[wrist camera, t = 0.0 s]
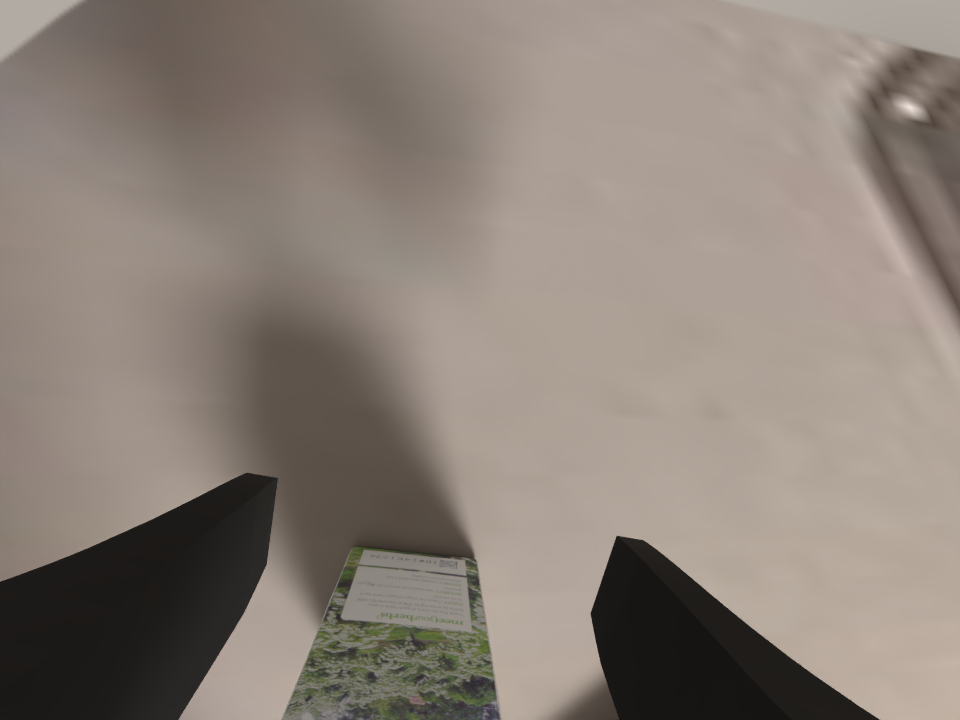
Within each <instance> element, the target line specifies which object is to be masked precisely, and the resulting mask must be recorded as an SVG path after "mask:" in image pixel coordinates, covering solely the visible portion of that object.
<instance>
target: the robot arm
mask: <svg viewBox="0 0 960 720" xmlns="http://www.w3.org/2000/svg"><path fill="white" fill-rule="evenodd" d="M277 480H278V478H274V477H268V476H262V475H257V474H251V473H245V474H243V475H241V476H238V477H236V478H234V479H232V480H230V481H228V482H226V483H224V484H222V485H220V486H218V487H216V488H214V489H212V490H210V491H208V492H207V493H205V494H203V495H201V496H199V497H197V498H195V499H193V500H191V501H189V502H187V503H185V504H183V505H181V506H179V507H177V508H175V509H173V510H171V511H169V512H167V513H164V514H162V515H160V516H158V517H156V518H154V519H152V520H150V521H148V522H146V523H143V524H141V525H139V526H137V527H134V528H132V529H130V530H128V531H126V532H123V533H121V534H119V535H117V536H114V537H112V538H110V539H108V540H106V541H103V542H101V543H99V544H97V545H94V546H92V547H90V548H88V549H85V550H83V551H80V552H78V553H75V554H73V555H71V556H68V557H65V558H63V559H60V560H58V561H55V562H53V563H50V564H48V565H45V566H42V567H40V568H37V569H34V570H31V571H29V572H26V573H23V574H21V575H18V576H15V577H13V578H10V579H7V580H4V581H2V582H0V720H178V719H179V718H180V716H181V714H182V713H183V711H184V710H185V708H186V706H187V705H188V703H189V701H190V700H191V698H192V697H193V695H194V693H195V692H196V690H197V689H198V687H199V685H200V684H201V682H202V680H203V679H204V677H205V676H206V674H207V672H208V671H209V669H210V668H211V666H212V664H213V663H214V661H215V660H216V658H217V656H218V655H219V653H220V651H221V650H222V648H223V646H224V645H225V643H226V642H227V640H228V638H229V637H230V635H231V633H232V632H233V630H234V629H235V627H236V625H237V624H238V622H239V620H240V619H241V617H242V615H243V614H244V612H245V609H246V607H247V605H248V603H249V601H250V599H251V597H252V595H253V593H254V591H255V589H256V586H257V584H258V582H259V580H260V578H261V575H262V573H263V571H264V569H265V567H266V565H267V557H268V549H269V542H270V534H271V526H272V519H273V511H274V503H275V495H276V488H277ZM591 618H592V623H593V628H594V634H595V639H596V644H597V648H598V653H599V657H600V662H601V665H602V669H603V672H604V675H605V678H606V681H607V684H608V687H609V690H610V693H611V696H612V699H613V702H614V705H615V708H616V711H617V714H618V717H619V720H879V719H878V718H876V717H875V716H873V715H872V714H870V713H869V712H867V711H865V710H864V709H862V708H861V707H859V706H858V705H856V704H855V703H854V702H852V701H851V700H849V699H848V698H846V697H845V696H843V695H842V694H841V693H839V692H838V691H836V690H835V689H833V688H832V687H830V686H829V685H827V684H826V683H825V682H823V681H822V680H820V679H819V678H817V677H816V676H814V675H813V674H812V673H810V672H809V671H808V670H806V669H805V668H803V667H802V666H801V665H799V664H798V663H797V662H795V661H794V660H792V659H791V658H790V657H788V656H787V655H786V654H785V653H783V652H782V651H781V650H779V649H778V648H777V647H776V646H774V645H773V644H772V643H770V642H769V641H768V640H766V639H765V638H764V637H763V636H761V635H760V634H759V633H757V632H756V631H755V630H754V629H752V628H751V627H750V626H749V625H747V624H746V623H745V622H744V621H742V620H741V619H740V618H739V617H737V616H736V615H735V614H734V613H733V612H731V611H730V610H729V609H728V608H726V607H725V606H724V605H723V604H722V603H720V602H719V601H718V600H717V599H716V598H714V597H713V596H712V595H711V594H710V593H708V592H707V591H706V590H705V589H704V588H702V587H701V586H700V585H699V584H698V583H697V582H695V581H694V580H693V579H692V578H691V577H689V576H688V575H687V574H686V573H685V572H683V571H682V570H681V569H680V568H679V567H677V566H676V565H675V564H674V563H673V562H671V561H670V560H669V559H668V558H666V557H665V556H664V555H663V554H661V553H660V552H659V551H658V550H656V549H655V548H654V547H652V546H651V545H649V544H648V543H647V542H645V541H644V540H638V539H633V538H627V537H621V536H617V537H616V540H615V543H614V546H613V549H612V552H611V555H610V558H609V560H608V563H607V566H606V569H605V572H604V575H603V578H602V581H601V584H600V587H599V590H598V593H597V596H596V599H595V602H594V605H593V608H592V611H591Z"/></svg>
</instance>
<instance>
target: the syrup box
mask: <svg viewBox="0 0 960 720" xmlns="http://www.w3.org/2000/svg"><path fill="white" fill-rule="evenodd" d="M281 720H502V719H501V712H500V705H499V698H498V692H497V686H496V679H495V672H494V666H493V660H492V653H491V648H490V641H489V635H488V628H487V622H486V615H485V609H484V602H483V597H482V590H481V584H480V576H479V570H478V564H477V561H476V560H475V559H472V558H464V557H456V556H442V555H431V554H422V553H412V552H402V551H392V550H383V549H373V548H364V547H353V548H352V549H351V550H350V552H349V555H348V557H347V560H346V563H345V565H344V567H343V570H342V572H341V575H340V577H339V580H338V582H337V585H336V587H335V589H334V591H333V594H332V596H331V598H330V601H329V604H328V606H327V609H326V611H325V614H324V616H323V619H322V622H321V624H320V627H319V629H318V631H317V634H316V636H315V639H314V641H313V644H312V647H311V649H310V651H309V654H308V656H307V659H306V661H305V664H304V666H303V669H302V671H301V673H300V676H299V678H298V681H297V683H296V685H295V688H294V690H293V693H292V695H291V698H290V700H289V702H288V705H287V707H286V710H285V712H284V714H283V717H282V719H281Z"/></svg>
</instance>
